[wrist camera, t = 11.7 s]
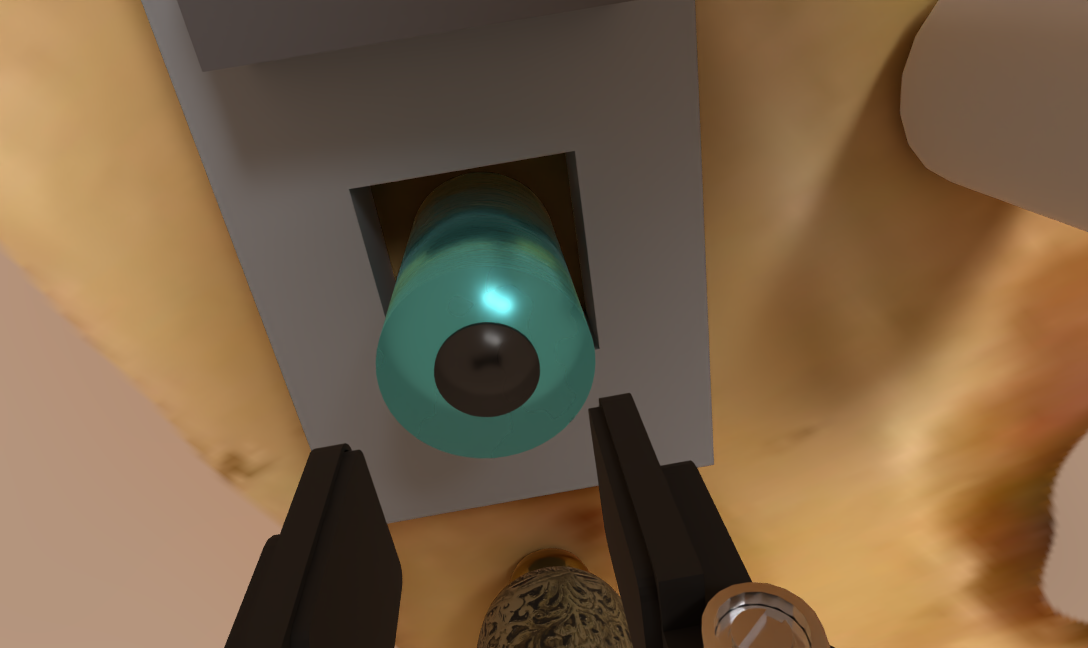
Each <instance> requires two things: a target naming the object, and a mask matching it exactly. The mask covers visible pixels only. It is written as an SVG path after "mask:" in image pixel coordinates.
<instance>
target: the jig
mask: <svg viewBox="0 0 1088 648" xmlns="http://www.w3.org/2000/svg"><path fill="white" fill-rule="evenodd" d="M141 2H142V4H143V7H144V10H145V12H146V15H147V17H148V20H149V23H150V25H151V28H152V31H153V33H154V36H155V39H156V41H157V44H158V47H159V49H160V52H161V55H162V57H163V60H164V62H165V65H166V68H167V70H168V73H169V76H170V78H171V81H172V84H173V86H174V89H175V92H176V94H177V97H178V99H179V102H180V105H181V107H182V110H183V113H184V115H185V118H186V121H187V123H188V126H189V129H190V131H191V134H192V137H193V139H194V142H195V144H196V147H197V150H198V152H199V155H200V158H201V160H202V163H203V166H204V168H205V171H206V174H207V176H208V179H209V181H210V184H211V187H212V189H213V192H214V195H215V197H216V200H217V203H218V205H219V208H220V211H221V213H222V216H223V219H224V221H225V224H226V226H227V229H228V232H229V234H230V237H231V240H232V242H233V245H234V248H235V250H236V253H237V256H238V258H239V261H240V263H241V266H242V269H243V271H244V274H245V277H246V279H247V282H248V285H249V287H250V290H251V293H252V295H253V298H254V301H255V303H256V306H257V308H258V311H259V314H260V316H261V319H262V322H263V324H264V327H265V330H266V332H267V335H268V338H269V340H270V343H271V345H272V348H273V351H274V353H275V356H276V359H277V361H278V364H279V367H280V369H281V372H282V375H283V377H284V380H285V383H286V385H287V388H288V390H289V393H290V396H291V398H292V401H293V404H294V406H295V409H296V412H297V414H298V417H299V420H300V422H301V425H302V427H303V430H304V433H305V435H306V438H307V441H308V443H309V446H310V449H311V451H312V450H313V449H315V448H321V447H327V446H332V445H338V444H344V443H347V444H349V446H350V447H351V449H352V451H353V450H361V451H362V452H363V454H364V457H365V460H366V463H367V466H368V469H369V472H370V475H371V478H372V481H373V484H374V487H375V490H376V493H377V496H378V499H379V502H380V505H381V508H382V511H383V514H384V517H385V520H386V523H387V524H388V523H393V522H399V521H404V520H410V519H415V518H421V517H426V516H432V515H438V514H443V513H449V512H454V511H460V510H465V509H471V508H476V507H482V506H487V505H493V504H499V503H504V502H510V501H515V500H521V499H526V498H532V497H537V496H543V495H548V494H554V493H560V492H565V491H571V490H576V489H582V488H587V487H593V486H598V477H597V470H596V463H595V456H594V449H593V442H592V435H591V428H590V421H589V413H588V409H589V408H594V407H599V398H602V397H608V396H614V395H619V394H625V393H631V395H632V397H633V399H634V402H635V404H636V407H637V409H638V412H639V414H640V417H641V419H642V422H643V424H644V427H645V429H646V432H647V434H648V437H649V439H650V441H651V444H652V446H653V449H654V451H655V454H656V456H657V459H658V461H659V464H660V466H661V465H667V464H673V463H678V462H684V461H689V460H691V461H693V462H694V464H695V465H696V467H697V468H698V467H704V466H709V465H714V454H713V430H712V405H711V380H710V356H709V331H708V307H707V282H706V257H705V233H704V208H703V184H702V159H701V134H700V110H699V85H698V61H697V36H696V11H695V0H141ZM559 153H565V155H566V163H567V171H568V178H569V186H570V193H571V201H572V208H573V216H574V224H575V231H576V239H577V246H578V254H579V261H580V269H581V277H582V284H583V292H584V299H585V307H586V312H583V313H584V316H585V319H586V322H587V324H588V327H589V330H590V333H591V336H592V339H593V344H594V349H595V362H596V364H595V374H594V379H593V383H592V387H591V390H590V392H589V395H588V397H587V399H586V401H585V403H584V405H583V406H582V408H581V410H580V411H579V412H578V414H577V415H576V416H575V418H574V419H573V420H572V421H571V422H570V423H569V424H568V425H567V426H566V427H565V428H564V429H563V430H562V431H561V432H559V433H558V434H557V435H556V436H554V437H553V438H551V439H550V440H548V441H546V442H545V443H543V444H541V445H539V446H537V447H535V448H533V449H530V450H528V451H525V452H522V453H519V454H515V455H510V456H506V457H498V458H470V457H463V456H458V455H453V454H450V453H446V452H443V451H440V450H438V449H436V448H434V447H431V446H429V445H427V444H425V443H424V442H422V441H420V440H419V439H417V438H416V437H414V436H413V435H412V434H411V433H409V432H408V431H407V430H406V429H405V428H404V427H403V426H402V425H401V424H400V423H399V422H398V421H397V420H396V419H395V417H394V416H393V415H392V413H391V412H390V410H389V409H388V407H387V405H386V403H385V402H384V400H383V397H382V395H381V392H380V389H379V386H378V381H377V377H376V364H375V363H376V351H377V347H378V342H379V338H380V335H381V331H382V328H383V325H384V321H385V318H386V314H387V311H388V307H389V304H390V301H391V297H392V294H393V290H394V287H395V284H396V281H395V278H394V274H393V270H392V266H391V263H390V259H389V255H388V252H387V248H386V244H385V240H384V237H383V233H382V229H381V226H380V222H379V218H378V214H377V211H376V207H375V203H374V200H373V196H372V192H371V188H370V186H371V185H376V184H382V183H388V182H394V181H400V180H406V179H412V178H418V177H423V176H429V175H435V174H441V173H447V172H453V171H459V170H465V169H471V168H476V167H482V166H488V165H494V164H500V163H506V162H512V161H518V160H523V159H529V158H535V157H541V156H547V155H553V154H559Z"/></svg>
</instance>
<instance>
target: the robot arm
mask: <svg viewBox="0 0 1088 648" xmlns="http://www.w3.org/2000/svg"><path fill="white" fill-rule="evenodd" d="M588 413H589V421H590V428H591V435H592V442H593V449H594V456H595V463H596V470H597V477H598V485H599V492H600V499H601V506H602V513H603V520H604V527H605V533H606V538H607V543H608V547H609V552H610V556H611V560H612V564H613V568H614V572H615V576H616V580H617V584H618V588H619V592H620V596H621V600H622V604H623V608H624V612H625V616H626V621H627V625H628V629H629V633H630V637H631V641H632V645H633V648H834V647H832V646H830V645H829V642H828V639H827V636H826V633H825V631H824V628H823V626H822V624H821V622H820V620H819V618H818V617H817V615H816V613H815V611H814V610H813V609H812V608H811V607H810V606H809V605H808V604H807V603H806V602H805V601H804V600H803V599H801V598H800V597H798V596H796V595H795V594H793V593H791V592H790V591H788V590H786V589H784V588H781V587H777V586H774V585H771V584H768V583H756V582H752V581H751V579H750V577H749V575H748V572H747V570H746V568H745V566H744V564H743V562H742V560H741V558H740V556H739V554H738V552H737V550H736V548H735V546H734V543H733V541H732V539H731V537H730V535H729V533H728V531H727V529H726V527H725V525H724V523H723V521H722V519H721V516H720V514H719V512H718V510H717V508H716V506H715V504H714V502H713V500H712V498H711V496H710V494H709V492H708V490H707V487H706V485H705V483H704V481H703V479H702V477H701V475H700V473H699V471H698V469H697V467H696V465H695V464H694V462H693V461H691V460H689V461H684V462H678V463H673V464H667V465H661V466H660V464H659V461H658V459H657V456H656V454H655V451H654V449H653V446H652V444H651V441H650V439H649V437H648V434H647V432H646V429H645V427H644V424H643V422H642V419H641V417H640V414H639V412H638V409H637V407H636V404H635V402H634V399H633V397H632V395H631V393H625V394H619V395H614V396H608V397H602V398H599V407H594V408H589V409H588ZM401 591H402V570H401V565H400V561H399V558H398V555H397V552H396V549H395V546H394V543H393V540H392V537H391V534H390V532H389V529H388V526H387V523H386V520H385V517H384V514H383V511H382V508H381V505H380V502H379V499H378V496H377V493H376V490H375V487H374V484H373V481H372V478H371V475H370V472H369V469H368V466H367V463H366V460H365V457H364V454H363V452H362V451H361V450H353V451H352V449H351V447H350V446H349V444H347V443H344V444H338V445H332V446H327V447H321V448H315V449H313V450H312V451H311V453H310V455H309V458H308V460H307V463H306V466H305V468H304V471H303V474H302V476H301V479H300V482H299V485H298V487H297V490H296V493H295V495H294V498H293V501H292V503H291V506H290V509H289V511H288V514H287V517H286V520H285V522H284V525H283V528H282V530H281V533H280V534H278V535H273V536H272V537H271V538H269V539H268V540H267V542H266V544H265V546H264V548H263V551H262V553H261V556H260V558H259V561H258V563H257V566H256V568H255V571H254V574H253V576H252V579H251V581H250V584H249V586H248V589H247V591H246V594H245V596H244V599H243V602H242V604H241V606H240V609H239V612H238V614H237V617H236V619H235V622H234V624H233V627H232V629H231V632H230V634H229V637H228V639H227V642H226V645H225V647H224V648H394V646H395V638H396V630H397V622H398V615H399V607H400V599H401Z"/></svg>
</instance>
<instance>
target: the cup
mask: <svg viewBox="0 0 1088 648" xmlns="http://www.w3.org/2000/svg"><path fill="white" fill-rule="evenodd" d="M477 648H633V645H632V641H631V637H630V633H629V629H628V625H627V621H626V616H625V612H624V608H623V604H622V600H621V598H620V596H619V595H618V594H617V593H616V592H615V591H614V590H613V589H612V588H611V587H610V586H609V585H608V584H607V583H606V582H604V581H603V580H602V579H600V578H599V577H597V576H595V575H594V574H591V573H589V571H588V569H587V567H586V566H585V565H584V564H583V562H582V561H581V560H580V559H579V558H578V557H577V556H576V555H574V554H572V553H571V552H569V551H566V550H562V549H557V548H548V549H542V550H538V551H535V552H533V553H531V554H529V555H527V556H526V557H524V558H523V559H522V560H521V561H520V562H519V563H518V564H517V566H516V568H515V569H514V571H513V573H512V576H511V578H510V582H509V585H507V586H506V587H505V588H504V589H503V590H502V591H501V592H500V594H499V595H498V596H497V597H496V598H495V600H494V601H493V603H492V604H491V606H490V608H489V610H488V612H487V614H486V616H485V619H484V622H483V625H482V628H481V631H480V635H479V640H478V644H477Z"/></svg>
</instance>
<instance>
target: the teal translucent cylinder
mask: <svg viewBox="0 0 1088 648" xmlns="http://www.w3.org/2000/svg"><path fill="white" fill-rule="evenodd" d="M375 364H376V377H377V381H378V386H379V389H380V392H381V395H382V397H383V400H384V402H385V403H386V405H387V407H388V409H389V410H390V412H391V413H392V415H393V416H394V417H395V419H396V420H397V421H398V422H399V423H400V424H401V425H402V426H403V427H404V428H405V429H406V430H407V431H408V432H409V433H411V434H412V435H413V436H414V437H416V438H417V439H419V440H420V441H422V442H424V443H425V444H427V445H429V446H431V447H434V448H436V449H438V450H440V451H443V452H446V453H450V454H453V455H458V456H463V457H470V458H498V457H506V456H510V455H515V454H519V453H522V452H525V451H528V450H530V449H533V448H535V447H537V446H539V445H541V444H543V443H545V442H546V441H548V440H550V439H551V438H553V437H554V436H556V435H557V434H558V433H559V432H561V431H562V430H563V429H564V428H565V427H566V426H567V425H568V424H569V423H570V422H571V421H572V420H573V419H574V418H575V416H576V415H577V414H578V412H579V411H580V410H581V408H582V406H583V405H584V403H585V401H586V399H587V397H588V395H589V392H590V390H591V387H592V383H593V379H594V374H595V364H596V362H595V349H594V344H593V339H592V336H591V333H590V330H589V327H588V324H587V322H586V319H585V316H584V313H583V310H582V307H581V305H580V302H579V299H578V296H577V293H576V290H575V288H574V285H573V282H572V279H571V276H570V273H569V271H568V268H567V265H566V262H565V259H564V257H563V254H562V251H561V248H560V245H559V242H558V240H557V237H556V234H555V231H554V228H553V225H552V223H551V220H550V217H549V214H548V212H547V210H546V209H545V207H544V205H543V204H542V202H541V201H540V199H539V198H538V197H537V196H536V195H535V194H534V193H533V192H532V191H531V190H530V189H529V188H527V187H526V186H525V185H523V184H522V183H520V182H518V181H517V180H514V179H512V178H510V177H508V176H504V175H501V174H496V173H490V172H475V173H467V174H463V175H459V176H457V177H454V178H452V179H450V180H448V181H446V182H444V183H442V184H441V185H440V186H438V187H437V188H436V189H434V190H433V191H432V192H431V193H430V194H429V195H428V196H427V198H426V199H425V200H424V201H423V203H422V204H421V206H420V208H419V210H418V211H417V214H416V216H415V219H414V222H413V226H412V229H411V232H410V236H409V239H408V243H407V246H406V249H405V253H404V256H403V260H402V263H401V266H400V270H399V273H398V277H397V280H396V284H395V287H394V290H393V294H392V297H391V301H390V304H389V307H388V311H387V314H386V318H385V321H384V325H383V328H382V331H381V335H380V338H379V342H378V347H377V351H376V363H375Z"/></svg>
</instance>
